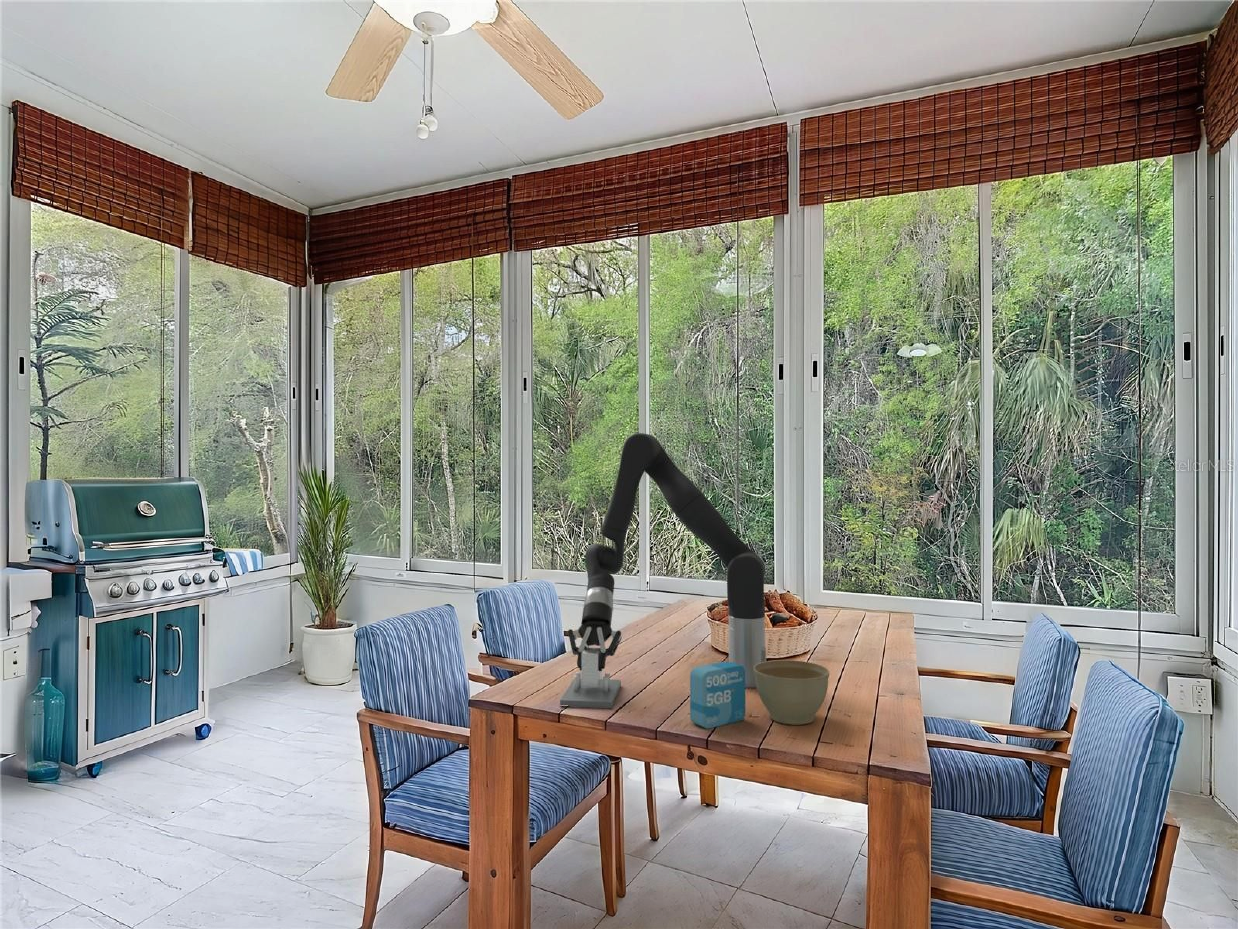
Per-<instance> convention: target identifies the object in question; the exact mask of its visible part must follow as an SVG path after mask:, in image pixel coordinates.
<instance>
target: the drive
mask: <svg viewBox="0 0 1238 929" xmlns="http://www.w3.org/2000/svg"><path fill="white" fill-rule="evenodd" d="M600 653H601V649H600V647H589V648H588V647H587V648H585V649H584V651H583V652H582V671H581V679H582V687H594V688H598V687H599V685H600V683H601V681H602V679H603V674H602V673H603V670H602V671H599V668H598V665H599V656H600Z"/></svg>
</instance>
